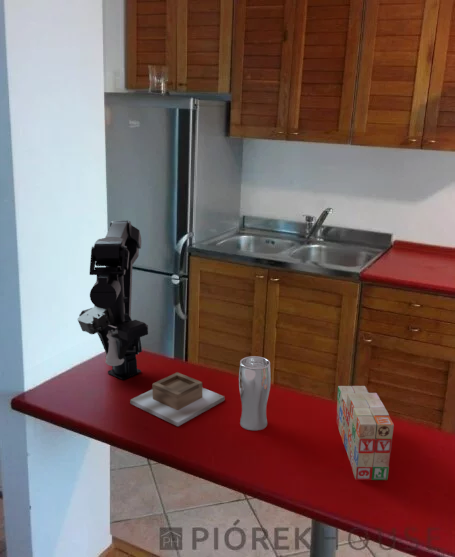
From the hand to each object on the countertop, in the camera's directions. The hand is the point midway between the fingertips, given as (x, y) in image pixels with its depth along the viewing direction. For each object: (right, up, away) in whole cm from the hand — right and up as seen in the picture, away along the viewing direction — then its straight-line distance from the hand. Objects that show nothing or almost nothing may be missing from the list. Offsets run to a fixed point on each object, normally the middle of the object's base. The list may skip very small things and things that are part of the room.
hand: (114, 356), depth 137 cm
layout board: (+15, -11, +1) cm, 19 cm away
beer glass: (+33, -14, -8) cm, 37 cm away
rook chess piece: (0, -2, +1) cm, 2 cm away
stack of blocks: (+55, -17, -18) cm, 60 cm away
